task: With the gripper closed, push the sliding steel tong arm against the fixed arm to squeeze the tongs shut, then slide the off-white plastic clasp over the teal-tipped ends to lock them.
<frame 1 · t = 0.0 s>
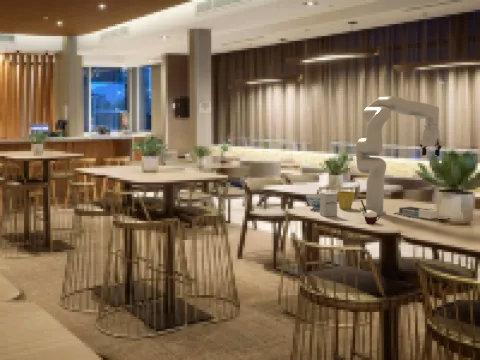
hand: (430, 155, 361), 31 cm above the table, fingers open, 9 cm apart
lock clasp: (430, 213, 323), point 3 cm above the table, slide at 0.0 cm
chinaware: (318, 209, 359), on the table
plant pot: (345, 208, 359), on the table
tongs fixed arm: (411, 215, 332), resting on mat
tongs moving arm: (421, 210, 336), point 2 cm above the table, slide at 0.0 cm
supplement box: (328, 216, 333), on the table
cocoa: (369, 223, 309), on the table
mat: (421, 216, 331), on the table
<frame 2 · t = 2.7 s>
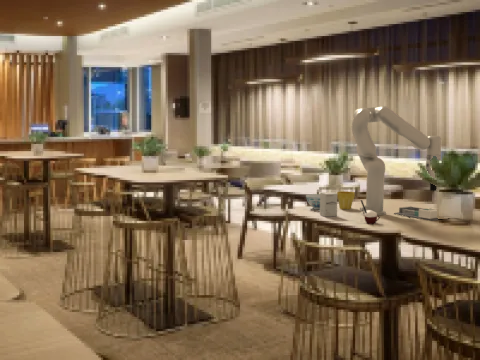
hand: (433, 190, 339), 13 cm above the table, fingers closed
nothing on the table moved.
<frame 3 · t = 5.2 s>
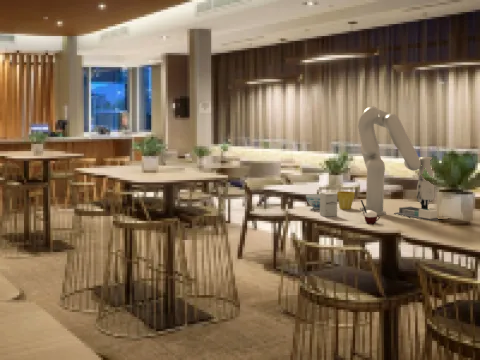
hand: (424, 211, 337), 2 cm above the table, fingers closed
tongs moving arm: (421, 210, 335), point 2 cm above the table, slide at 0.5 cm, touching gripper
everything else where it was.
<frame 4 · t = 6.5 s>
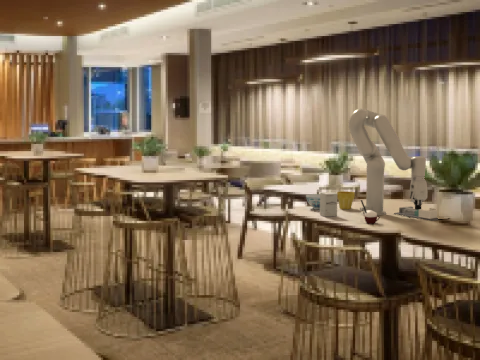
hand: (418, 211, 334), 2 cm above the table, fingers closed
tongs moving arm: (414, 211, 333), point 2 cm above the table, slide at 5.8 cm, touching gripper, tongs fixed arm
everything else where it was.
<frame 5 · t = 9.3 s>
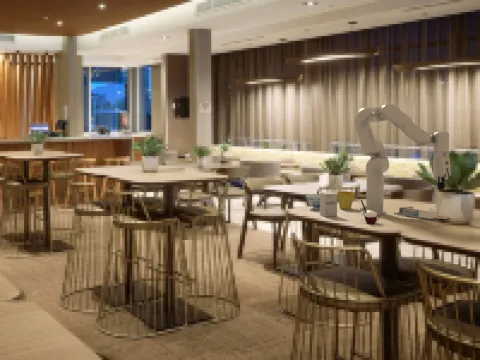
hand: (441, 189, 320), 16 cm above the table, fingers closed
tongs moving arm: (414, 211, 333), point 2 cm above the table, slide at 5.6 cm
everything else where it was.
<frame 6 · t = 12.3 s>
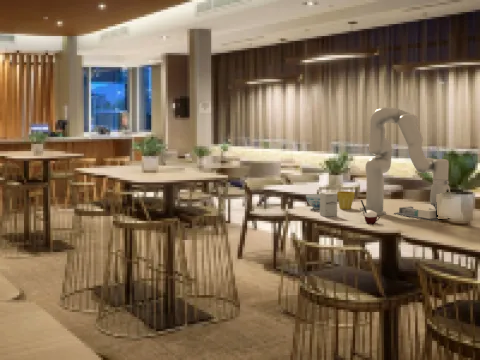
hand: (439, 217, 318), 2 cm above the table, fingers closed
lock clasp: (429, 213, 323), point 3 cm above the table, slide at 0.4 cm, touching gripper
everything else where it was.
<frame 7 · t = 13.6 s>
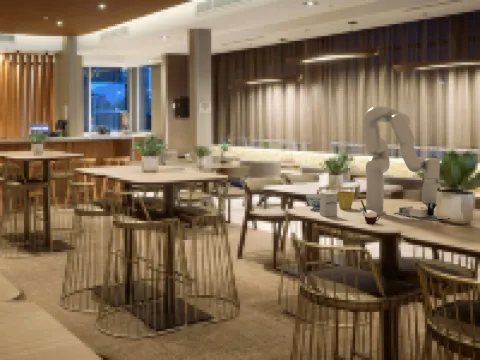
hand: (430, 215, 323), 2 cm above the table, fingers closed
lock clasp: (421, 211, 328), point 3 cm above the table, slide at 6.0 cm, touching gripper
everything else where it was.
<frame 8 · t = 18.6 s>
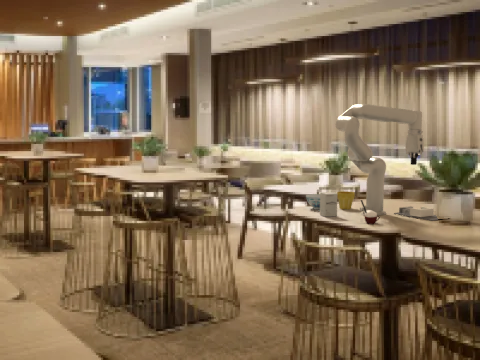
hand: (413, 164, 347), 27 cm above the table, fingers closed
lock clasp: (421, 211, 328), point 3 cm above the table, slide at 6.0 cm
everything else where it was.
at the end: tongs moving arm slide at 5.6 cm; lock clasp slide at 6.0 cm; lock clasp touching nothing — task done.
